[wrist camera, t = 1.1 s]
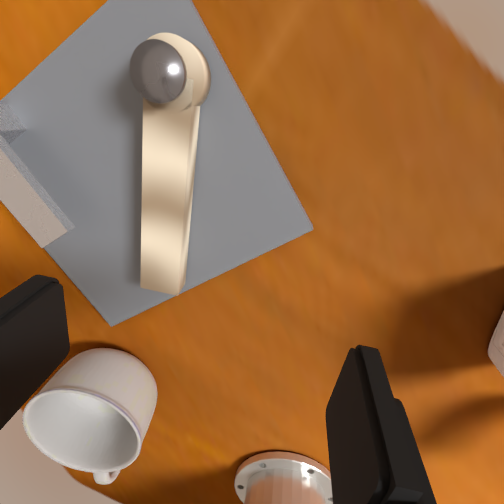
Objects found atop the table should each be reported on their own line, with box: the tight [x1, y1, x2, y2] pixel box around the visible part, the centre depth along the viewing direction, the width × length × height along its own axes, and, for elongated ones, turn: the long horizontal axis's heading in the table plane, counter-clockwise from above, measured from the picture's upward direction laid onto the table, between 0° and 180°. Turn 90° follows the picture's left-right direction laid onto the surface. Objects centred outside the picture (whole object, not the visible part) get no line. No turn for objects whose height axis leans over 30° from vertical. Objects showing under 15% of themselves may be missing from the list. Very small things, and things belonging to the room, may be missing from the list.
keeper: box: [0, 104, 75, 248], centre depth 25 cm, size 10×3×5 cm, turn 31°
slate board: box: [0, 0, 313, 327], centre depth 26 cm, size 20×22×1 cm
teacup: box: [23, 348, 157, 485], centre depth 33 cm, size 14×11×8 cm
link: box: [130, 33, 211, 296], centre depth 23 cm, size 18×4×4 cm, turn 171°
